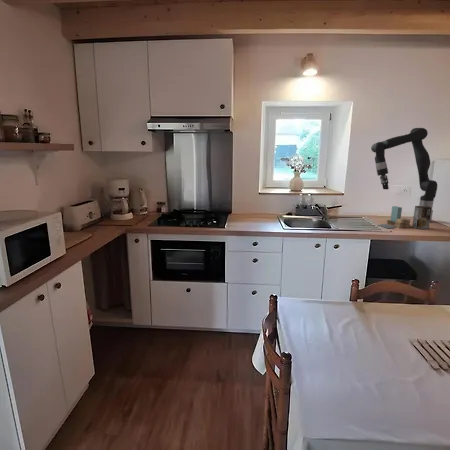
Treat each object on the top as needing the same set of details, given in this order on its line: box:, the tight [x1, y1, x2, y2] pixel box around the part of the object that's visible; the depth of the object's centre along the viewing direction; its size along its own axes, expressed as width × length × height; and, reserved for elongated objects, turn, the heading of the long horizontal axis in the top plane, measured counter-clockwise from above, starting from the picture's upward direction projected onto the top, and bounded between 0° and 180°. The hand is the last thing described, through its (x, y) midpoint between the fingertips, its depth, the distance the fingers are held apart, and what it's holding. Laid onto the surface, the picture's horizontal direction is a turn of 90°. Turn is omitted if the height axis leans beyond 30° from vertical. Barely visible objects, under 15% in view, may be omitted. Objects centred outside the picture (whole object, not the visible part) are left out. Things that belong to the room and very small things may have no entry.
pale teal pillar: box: [389, 205, 403, 222], centre depth 248 cm, size 4×6×14 cm, turn 16°
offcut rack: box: [386, 217, 411, 229], centre depth 247 cm, size 10×14×6 cm
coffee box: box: [412, 205, 433, 230], centre depth 239 cm, size 9×6×16 cm
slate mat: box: [377, 223, 397, 230], centre depth 243 cm, size 8×10×1 cm
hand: (386, 189), depth 249 cm, fingers open, 8 cm apart
